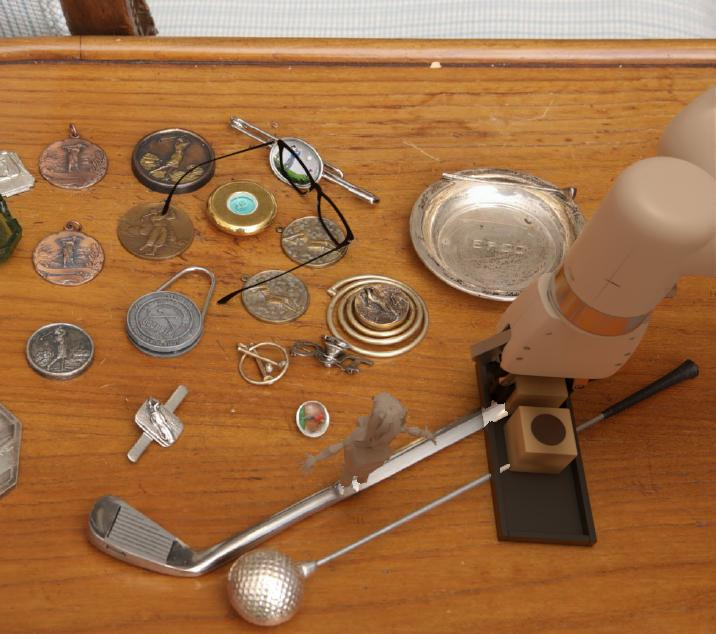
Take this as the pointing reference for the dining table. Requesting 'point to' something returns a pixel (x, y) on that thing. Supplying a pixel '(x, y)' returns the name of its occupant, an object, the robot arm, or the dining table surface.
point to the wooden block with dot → (539, 440)
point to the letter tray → (536, 490)
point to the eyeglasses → (314, 185)
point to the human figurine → (370, 440)
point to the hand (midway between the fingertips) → (523, 393)
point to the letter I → (537, 393)
